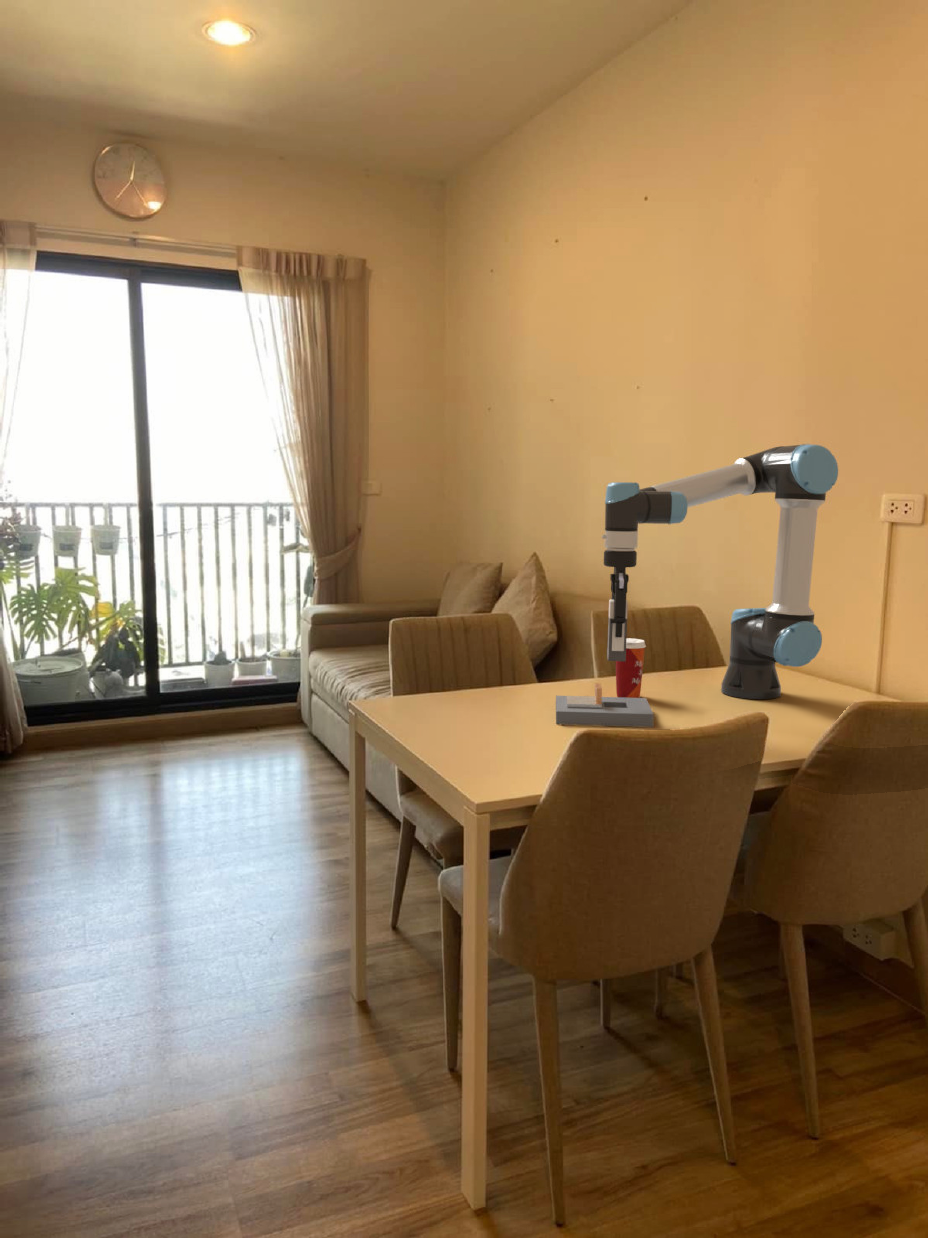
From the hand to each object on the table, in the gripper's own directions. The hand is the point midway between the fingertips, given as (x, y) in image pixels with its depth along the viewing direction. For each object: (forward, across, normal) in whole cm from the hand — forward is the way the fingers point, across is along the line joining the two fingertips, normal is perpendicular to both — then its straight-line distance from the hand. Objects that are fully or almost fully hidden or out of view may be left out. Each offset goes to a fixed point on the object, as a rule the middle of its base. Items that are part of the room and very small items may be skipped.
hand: (616, 648), depth 210 cm
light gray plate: (+13, 0, -7) cm, 15 cm away
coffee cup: (+17, -22, +5) cm, 28 cm away
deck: (+17, 0, -3) cm, 17 cm away
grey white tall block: (+3, 0, 0) cm, 3 cm away
